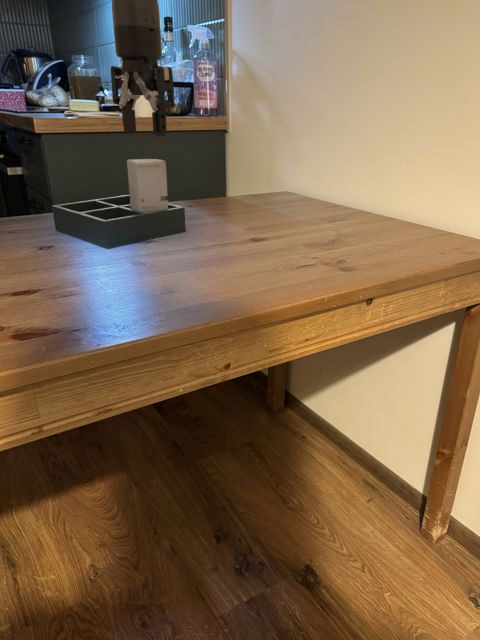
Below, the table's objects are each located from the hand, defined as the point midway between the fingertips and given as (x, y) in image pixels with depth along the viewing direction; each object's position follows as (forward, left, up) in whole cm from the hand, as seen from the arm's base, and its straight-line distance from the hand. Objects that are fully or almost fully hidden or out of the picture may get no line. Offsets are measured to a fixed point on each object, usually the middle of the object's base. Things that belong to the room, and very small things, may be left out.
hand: (144, 133), depth 88 cm
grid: (-4, -4, -17) cm, 18 cm away
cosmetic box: (0, 0, -17) cm, 17 cm away
